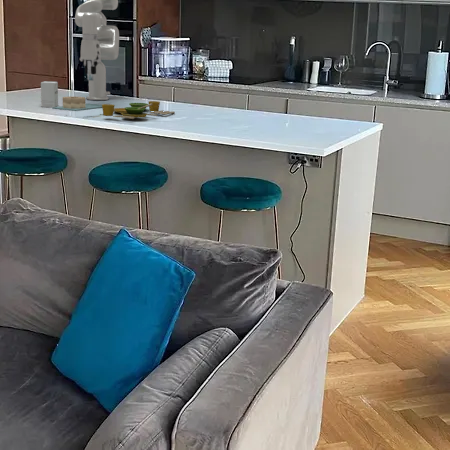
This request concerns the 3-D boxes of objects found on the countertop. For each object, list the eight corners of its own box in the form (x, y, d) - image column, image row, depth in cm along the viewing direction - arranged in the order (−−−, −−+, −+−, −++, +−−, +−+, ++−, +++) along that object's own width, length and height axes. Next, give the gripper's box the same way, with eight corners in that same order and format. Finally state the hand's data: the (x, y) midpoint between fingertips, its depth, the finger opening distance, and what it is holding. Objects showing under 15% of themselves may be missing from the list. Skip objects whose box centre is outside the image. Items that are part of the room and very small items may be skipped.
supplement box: (55, 107, 378) (54, 82, 375) (40, 107, 378) (40, 82, 375) (58, 106, 385) (58, 81, 382) (44, 105, 385) (43, 81, 382)
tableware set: (132, 119, 344) (132, 106, 342) (85, 114, 356) (85, 101, 355) (178, 112, 379) (178, 100, 377) (134, 108, 392) (134, 96, 390)
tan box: (72, 105, 383) (72, 96, 382) (89, 107, 378) (89, 97, 377) (58, 107, 373) (58, 97, 372) (75, 109, 369) (75, 99, 367)
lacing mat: (88, 104, 398) (88, 103, 398) (111, 106, 392) (111, 105, 392) (52, 108, 372) (52, 107, 372) (76, 110, 366) (76, 109, 366)
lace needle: (90, 79, 387) (89, 56, 384) (95, 80, 386) (94, 56, 383) (86, 80, 384) (85, 56, 381) (91, 80, 383) (90, 57, 380)
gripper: (107, 38, 379) (107, 74, 384) (81, 36, 386) (82, 72, 391) (98, 38, 372) (99, 75, 378) (72, 37, 379) (73, 73, 385)
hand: (90, 73), depth 384 cm, fingers closed on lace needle, 3 cm apart
